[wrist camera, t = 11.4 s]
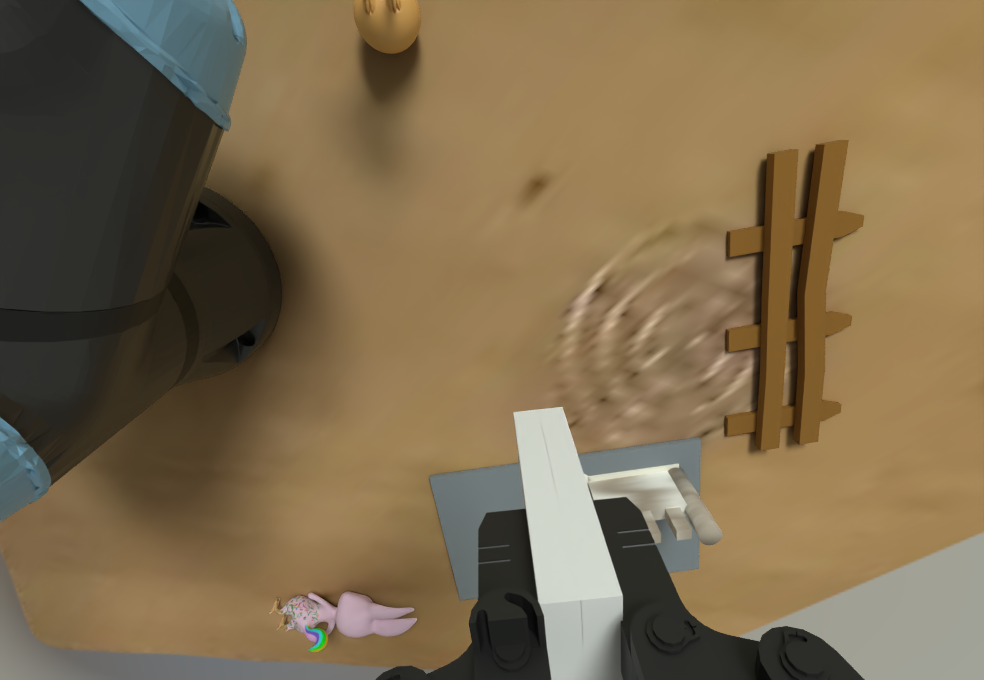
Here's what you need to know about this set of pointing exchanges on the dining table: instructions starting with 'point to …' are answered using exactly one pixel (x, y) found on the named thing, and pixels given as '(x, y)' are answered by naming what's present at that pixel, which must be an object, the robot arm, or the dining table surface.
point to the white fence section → (663, 503)
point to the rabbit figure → (342, 617)
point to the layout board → (500, 490)
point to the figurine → (388, 23)
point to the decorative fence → (776, 290)
